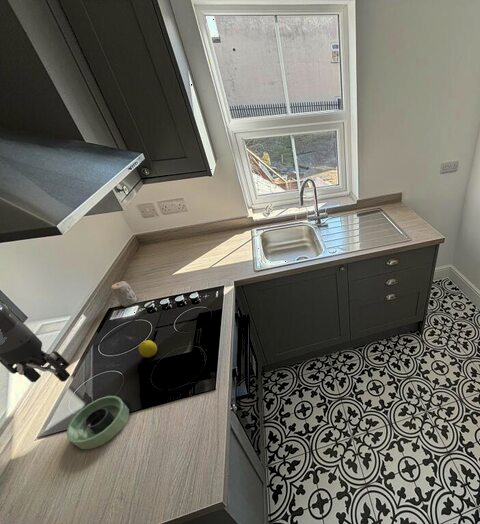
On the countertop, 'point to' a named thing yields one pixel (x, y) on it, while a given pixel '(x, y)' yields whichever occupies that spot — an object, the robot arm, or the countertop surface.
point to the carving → (124, 293)
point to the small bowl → (98, 420)
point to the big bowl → (89, 440)
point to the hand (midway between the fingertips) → (51, 379)
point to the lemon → (147, 348)
